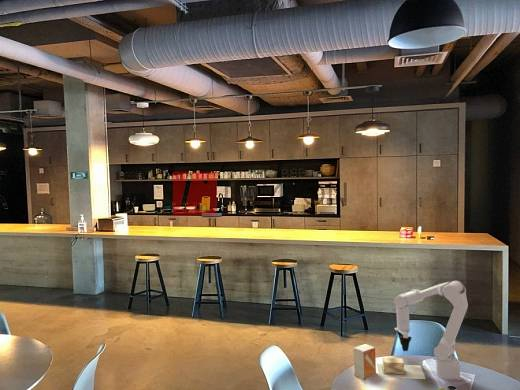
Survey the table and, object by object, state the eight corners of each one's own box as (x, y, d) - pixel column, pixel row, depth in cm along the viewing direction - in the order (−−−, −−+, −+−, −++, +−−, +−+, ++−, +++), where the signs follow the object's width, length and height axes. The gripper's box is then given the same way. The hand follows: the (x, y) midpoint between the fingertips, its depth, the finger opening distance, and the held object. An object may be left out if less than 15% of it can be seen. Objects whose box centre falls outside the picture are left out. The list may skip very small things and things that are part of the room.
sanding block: (402, 368, 199) (402, 358, 199) (404, 373, 194) (403, 363, 194) (383, 368, 201) (382, 357, 201) (384, 373, 196) (383, 362, 196)
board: (420, 367, 202) (420, 365, 202) (426, 381, 188) (425, 379, 188) (377, 366, 206) (376, 364, 206) (379, 379, 192) (379, 377, 192)
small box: (364, 380, 192) (363, 351, 192) (354, 375, 198) (352, 347, 197) (376, 374, 197) (375, 347, 196) (366, 370, 202) (365, 343, 202)
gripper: (392, 314, 211) (393, 341, 211) (396, 324, 196) (397, 353, 197) (407, 314, 209) (408, 342, 210) (412, 324, 195) (413, 353, 195)
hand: (404, 347), depth 203 cm, fingers open, 7 cm apart
